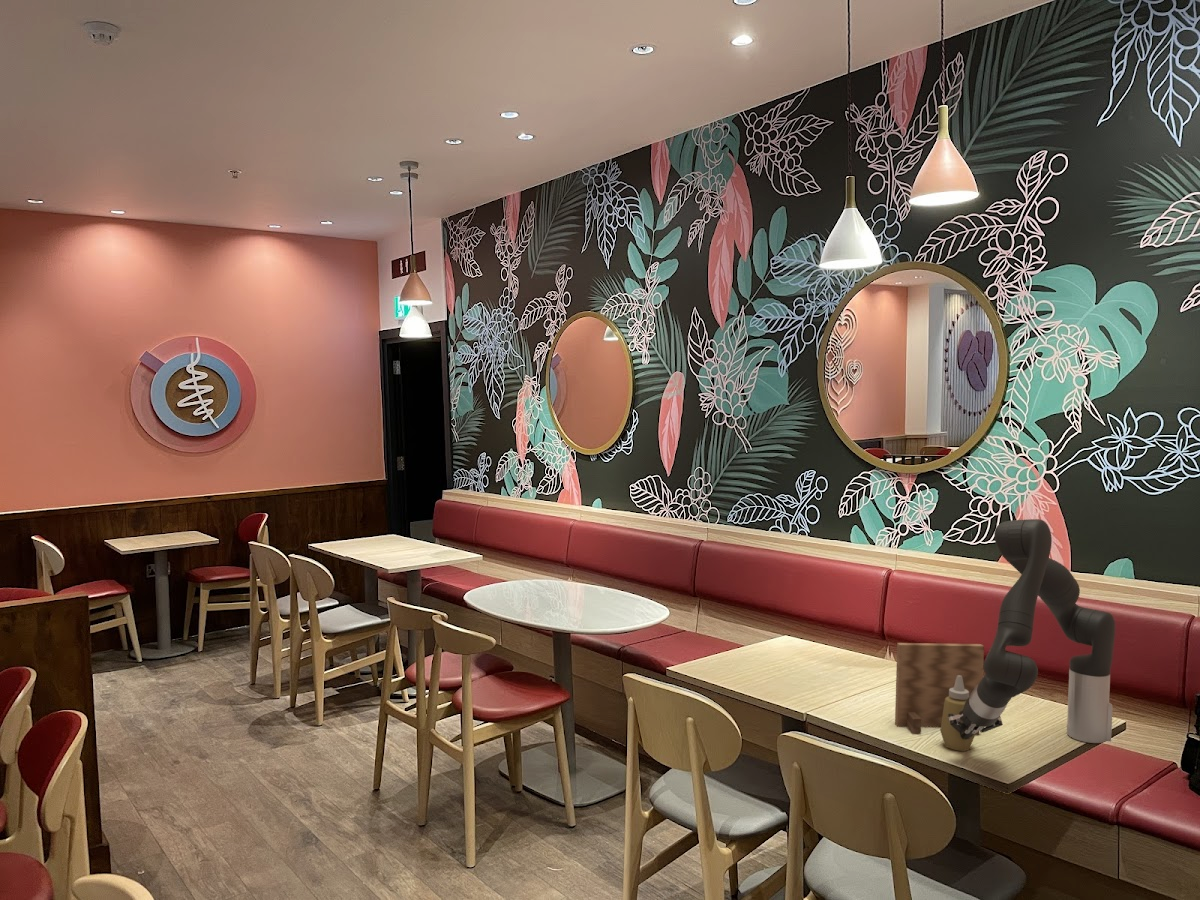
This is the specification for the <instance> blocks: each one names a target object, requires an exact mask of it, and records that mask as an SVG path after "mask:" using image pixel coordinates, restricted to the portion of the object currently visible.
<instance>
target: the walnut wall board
mask: <svg viewBox="0 0 1200 900" xmlns="http://www.w3.org/2000/svg"><path fill="white" fill-rule="evenodd" d="M896 644H897V645H896V671H895V673H896V675H895V676H896V679H895V707H894V708H895V710H894V711H895V712H894V714H895V715H894V725H895V726H896V727H899V728H905V727H906V728H907V729H908V731H910V732H911V734H912V735H921V732H922V728H941V723H942V716H943V709H944V702H945V698H946V697H948V696H949V689H950V688H954V685H955V681H956V678H957V675H960V676H962V679H963V684H964V689H966V690H968V691H969V696H970V695H971V693H972V691H973V690H974V689H975V687H976V686H977V685H978V684H979V683H980V681H981V680H982V678H983V677H984V669H983V665H984V661H985V659H984V657H985V656H984V655H985V651H984V650H985V645H983V644H982V643H981V644H980V643H938V642H937V643H936V642H935V643H929V642H927V643H925V642H920V643H919V642H915V643H914V642H910V643H909V642H897V643H896ZM975 736H980V731H978V732H977V733H975Z"/></svg>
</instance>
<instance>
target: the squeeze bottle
mask: <svg viewBox="0 0 1200 900" xmlns="http://www.w3.org/2000/svg"><path fill="white" fill-rule="evenodd" d="M968 698H969V691H968V690H966V689H964V684H963V679H962V676H960V675H957V678H956V681H955V685H954V688H950V689H949V696H948V697H946V698H945V702H944V709H943V716H942V723H941V727H940V734H941V737H942V741H943V744H944V746H945V747H947V748H948V749H950V750H953V751H959V752H960V751H963V752H964V751H968V750H970V748H971V747H972V743H973V741H974V739H975V737H976V735H975V734H974V735H973V736H972V737H970V738H969V739H962V737H961V736H960V732H958V731H957V730H956V729H955V728H953V727H952V726H951V725H950V722H949V718H948V714H953V715H959V712H960V711H962V710H963V709H964V705H965V702H966V701H967V699H968ZM960 721H961V720H960ZM961 723H963V722H962V721H961Z"/></svg>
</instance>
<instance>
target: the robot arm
mask: <svg viewBox="0 0 1200 900" xmlns="http://www.w3.org/2000/svg"><path fill="white" fill-rule="evenodd" d="M1052 538H1053V537H1052V531H1051V529H1050V527H1049V525H1048V523H1047V522H1046V521H1045V520H1043V519H1040V518H1037V519H1036V518H1033V519H1032V518H1030V519H1014V520H1013V519H1012V520H1008V521H1003V522H1001V523H999V524H998V525H997V526H996V527H995V529H994V543H995V546H996V548H997V550H998V552H999V553H1000V555H1001V557H1003V558H1004V559H1005V560H1006V562H1008V563H1009V564H1010V566H1012V567H1013V568H1014V569H1015V570H1016V571H1017V572H1019V574H1020V576H1019V578H1018V580H1016V582H1015V583H1014V584H1013V586H1011V588H1010V589H1009V590H1008V592H1007V593H1006V594H1005V596H1004V597H1003V599H1002V602H1001V604H1000V606H999V607H1000V608H999V614H998V621H997V628H996V634H995V637H994V639H993V642H992V645H991V646H990V648H989V651H988V653H987V655H986V657H985V659H984V660H983V673H984V674H983V678H982V680H981V681H980V683H979V684H978V685H977V686H976V687H975V689H974V690H973V691H972V693H971V695H970V696H969V698H968V699H967V701H966V702H965V705H964V709H963V710H962V711H960V712H959V715H953V714H948V718H949V722H950V725H951V726H952V727H953V728H955V729H956V730H957V731H958V732H960V736H961V737H962V739H969V738H970V737H972V736H973V735H974V734H975V733H977V732H978V731H979V733H981V734H982V733H986V732H988V731H990V730H994V729H997V728H998V727H1001V726H1003V720H1002V718H1001V717H1002V714H1003V712H1004V711H1005V709H1006V708H1007V706H1008V704H1009V702H1010V701H1011V699H1012V698H1015V697H1016V696H1019V695H1020V694H1022V693H1024V692H1026V691H1028V690H1029V689H1030V688H1031V687H1033V686H1034V684H1035V683H1036V680H1037V679H1038V675H1039V669H1038V666H1037V663H1036V662H1035V660H1034V659H1033V658H1031V657H1029V656H1026V655H1023V654H1019V653H1016V652H1012V651H1009V650H1006V647H1025V646H1028V645H1029V644H1030V643H1031V642H1032V637H1033V629H1034V620H1035V612H1036V605H1037V600H1038V597H1039V598H1040V599H1041V600H1042V602H1043V603H1044V604H1045V605H1046V607H1047V608H1048V609H1049V611H1050V612H1051V614H1053V616H1054V618H1055V619H1056V621H1057V623H1058V625H1059V627H1060V628H1061V631H1062V632H1063V634H1064V635H1065V636H1066V637H1067V638H1068V640H1070V641H1071V642H1075V643H1078V644H1082V645H1086V646H1091V652H1090V653H1089V654H1082V655H1081V654H1080V655H1074V656H1072V657H1071V658H1070V659H1069V667H1068V669H1069V670H1068V695H1067V697H1068V698H1067V716H1066V717H1067V719H1066V720H1067V722H1066V734H1067V736H1068V735H1069V736H1068V737H1069V738H1071V737H1072V738H1071V739H1074V740H1076V741H1080V742H1084V743H1088V744H1089V743H1090V744H1103V743H1106V742H1111V741H1112V730H1113V729H1112V728H1113V727H1112V725H1113V708H1114V706H1113V704H1112V703H1110V688H1111V669H1112V663H1113V657H1114V643H1115V637H1116V623H1115V622H1116V621H1115V617H1114V616H1113V615H1112V614H1111V613H1110V612H1107V611H1103V610H1097V609H1092V608H1088V607H1084V606H1083V607H1082V606H1079V605H1078V604H1076V603H1077V601H1078V600H1079V597H1080V592H1081V591H1080V585H1079V582H1078V581H1077V580H1076V578H1075V577H1074V575H1073V574H1072V573H1071V571H1070V570H1069V569H1068V568H1067V567H1066V566H1065V565H1064V564H1062V563H1060V562H1059V561H1057V560H1055V559H1053V558H1051V557H1050V554H1051V551H1052V543H1053V540H1052ZM960 720H961V721H962V722H963V723H961V721H960Z"/></svg>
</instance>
